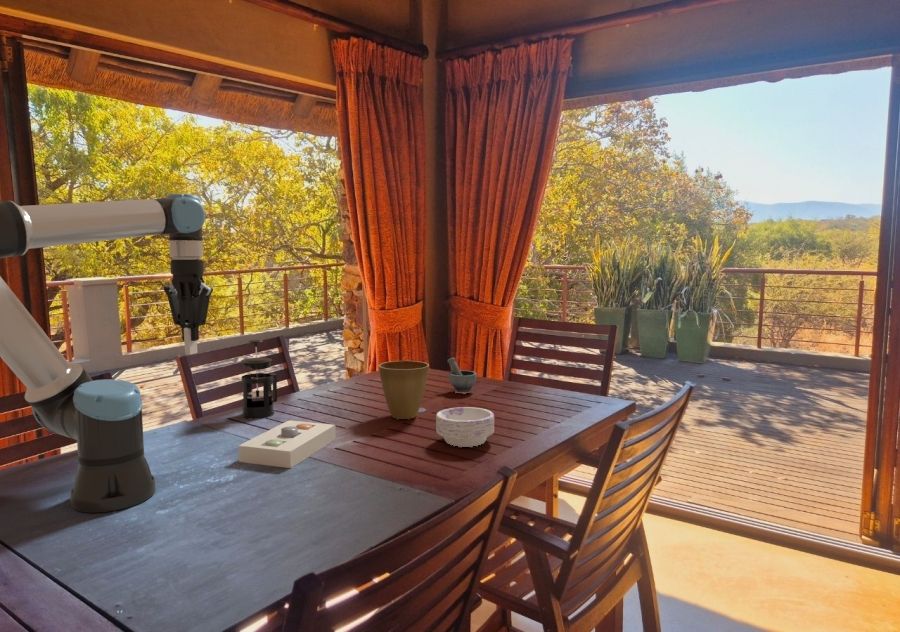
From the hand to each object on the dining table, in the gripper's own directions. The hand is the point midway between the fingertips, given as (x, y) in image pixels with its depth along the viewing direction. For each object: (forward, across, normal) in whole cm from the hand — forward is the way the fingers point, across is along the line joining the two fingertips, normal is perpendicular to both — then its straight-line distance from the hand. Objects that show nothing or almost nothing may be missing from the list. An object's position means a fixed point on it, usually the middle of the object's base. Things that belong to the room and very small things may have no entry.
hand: (191, 353), depth 150 cm
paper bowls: (+25, -64, -25) cm, 73 cm away
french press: (+25, +3, -32) cm, 40 cm away
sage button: (+24, -24, +1) cm, 34 cm away
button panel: (+24, -24, -6) cm, 34 cm away
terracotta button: (+24, -23, -13) cm, 36 cm away
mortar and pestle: (+25, -48, -78) cm, 95 cm away
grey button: (+23, -23, -6) cm, 33 cm away
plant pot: (+25, -40, -43) cm, 64 cm away
